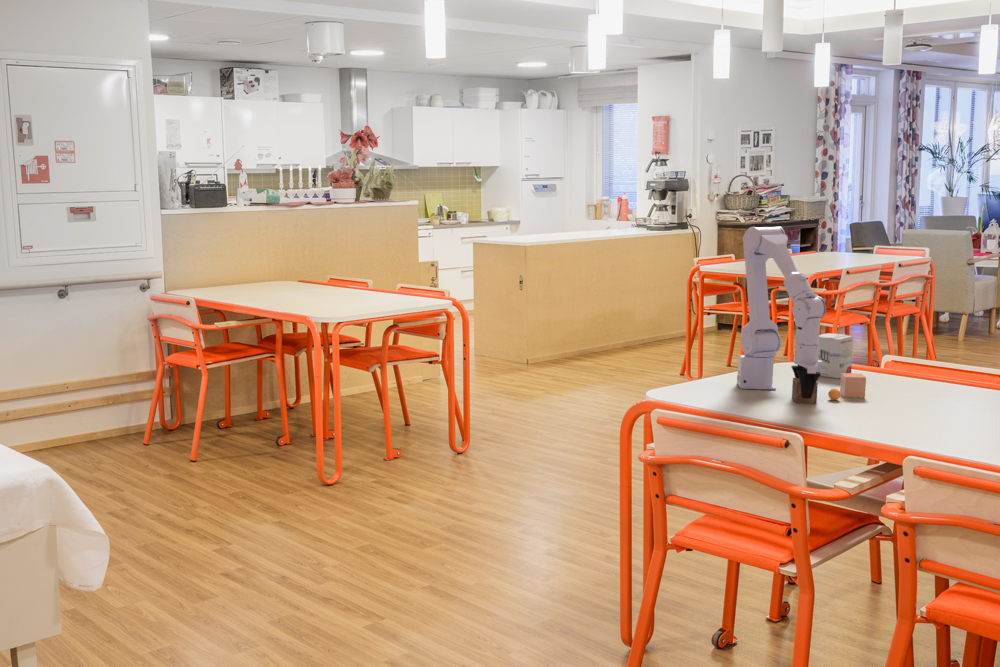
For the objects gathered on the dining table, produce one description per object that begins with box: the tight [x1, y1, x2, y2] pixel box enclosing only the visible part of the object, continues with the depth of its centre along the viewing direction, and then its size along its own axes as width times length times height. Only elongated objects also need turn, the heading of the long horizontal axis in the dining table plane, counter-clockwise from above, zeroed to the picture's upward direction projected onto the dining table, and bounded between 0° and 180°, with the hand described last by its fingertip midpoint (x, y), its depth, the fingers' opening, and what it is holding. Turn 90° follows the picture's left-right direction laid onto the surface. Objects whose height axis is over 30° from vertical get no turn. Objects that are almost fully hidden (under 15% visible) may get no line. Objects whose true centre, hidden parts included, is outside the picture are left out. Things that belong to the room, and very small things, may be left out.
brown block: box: [791, 377, 819, 404], centre depth 243 cm, size 5×5×6 cm
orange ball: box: [827, 388, 841, 401], centre depth 245 cm, size 3×3×3 cm
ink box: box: [816, 332, 854, 379], centre depth 276 cm, size 9×9×12 cm
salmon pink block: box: [839, 372, 867, 398], centre depth 250 cm, size 5×5×6 cm
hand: (804, 395), depth 243 cm, fingers closed on brown block, 5 cm apart
